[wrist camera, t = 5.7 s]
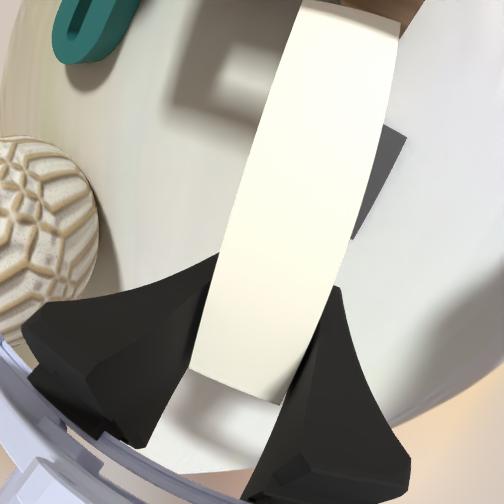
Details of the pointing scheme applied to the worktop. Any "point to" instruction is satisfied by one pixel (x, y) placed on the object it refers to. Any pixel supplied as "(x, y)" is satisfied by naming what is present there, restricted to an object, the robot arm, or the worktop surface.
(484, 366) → the worktop surface
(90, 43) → the bracket
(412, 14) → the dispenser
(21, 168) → the vase
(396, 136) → the mat
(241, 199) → the cream flat block piece
